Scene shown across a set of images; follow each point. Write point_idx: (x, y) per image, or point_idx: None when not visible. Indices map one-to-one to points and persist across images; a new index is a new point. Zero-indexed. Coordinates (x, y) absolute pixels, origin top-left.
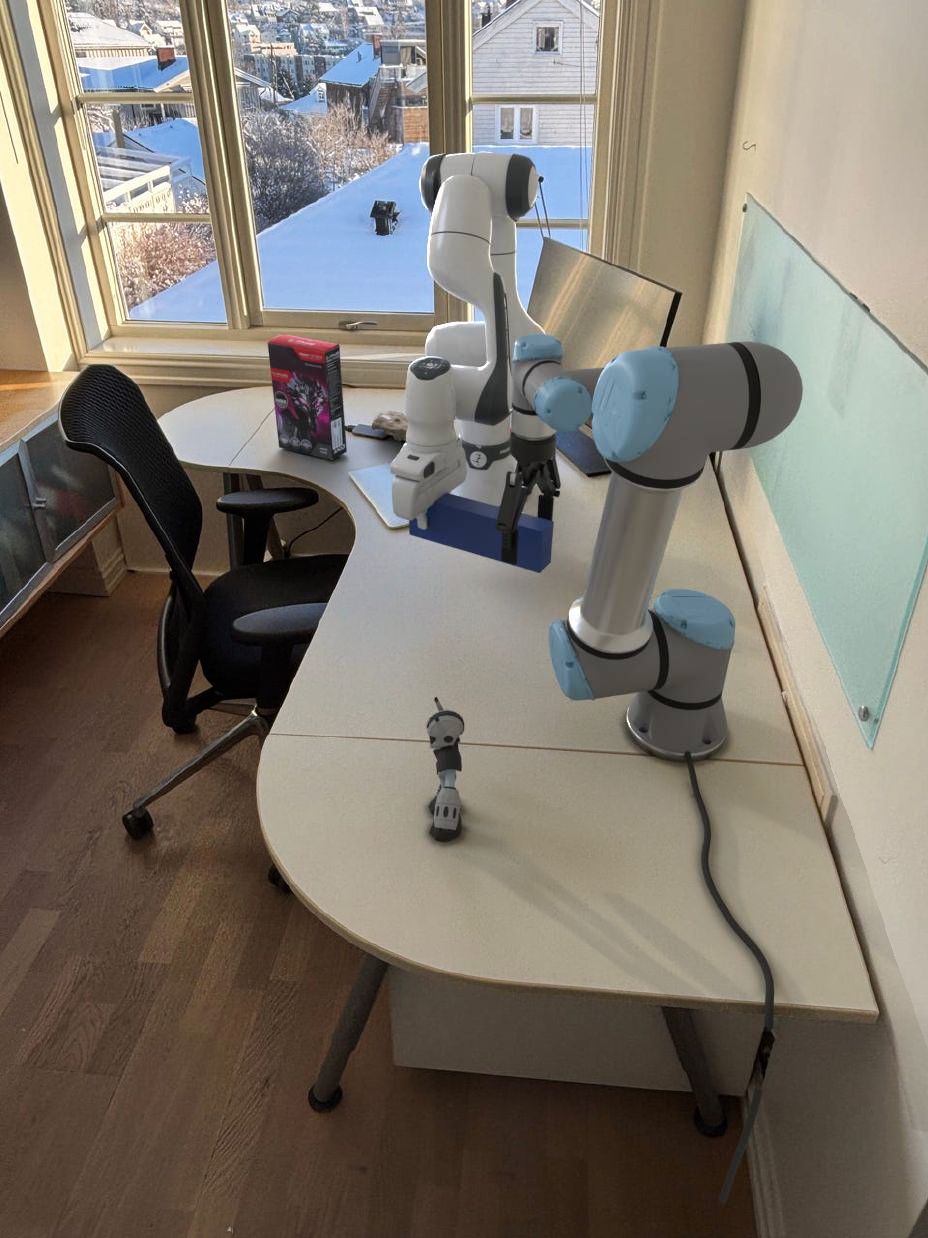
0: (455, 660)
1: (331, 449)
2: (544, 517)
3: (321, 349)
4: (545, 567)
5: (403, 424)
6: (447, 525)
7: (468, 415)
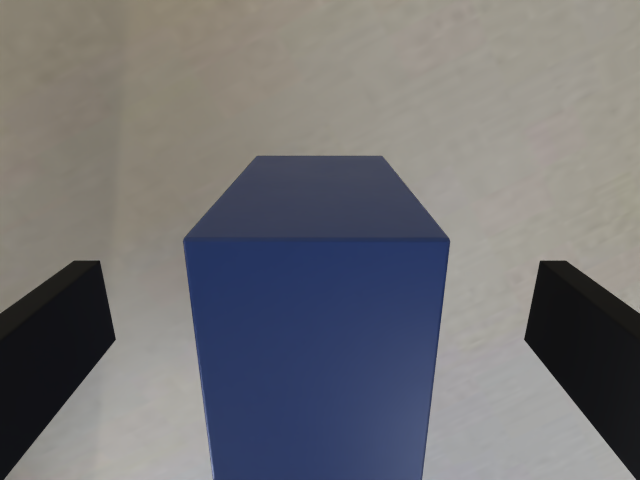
0: (624, 236)
1: None
2: (57, 349)
3: None
4: (318, 156)
5: None
6: None
7: None
